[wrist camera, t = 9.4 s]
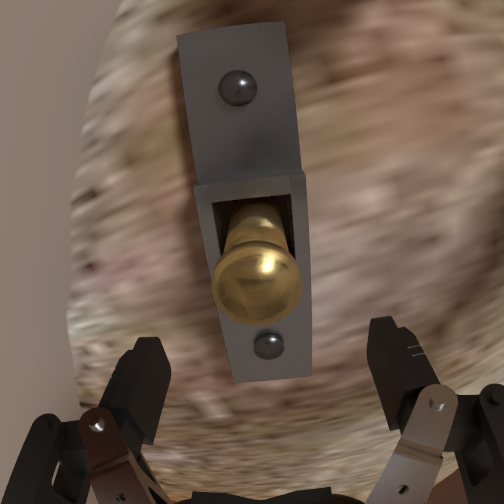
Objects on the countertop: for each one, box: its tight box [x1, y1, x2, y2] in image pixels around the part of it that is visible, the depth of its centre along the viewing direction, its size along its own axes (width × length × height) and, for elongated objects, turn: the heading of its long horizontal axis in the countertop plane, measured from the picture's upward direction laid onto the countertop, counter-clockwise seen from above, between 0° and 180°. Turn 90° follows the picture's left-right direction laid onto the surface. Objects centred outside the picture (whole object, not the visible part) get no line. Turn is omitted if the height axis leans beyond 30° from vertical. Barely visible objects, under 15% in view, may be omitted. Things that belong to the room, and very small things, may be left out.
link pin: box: [211, 196, 302, 325], centre depth 19 cm, size 4×4×10 cm
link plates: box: [177, 21, 312, 383], centre depth 22 cm, size 7×28×4 cm, turn 7°
